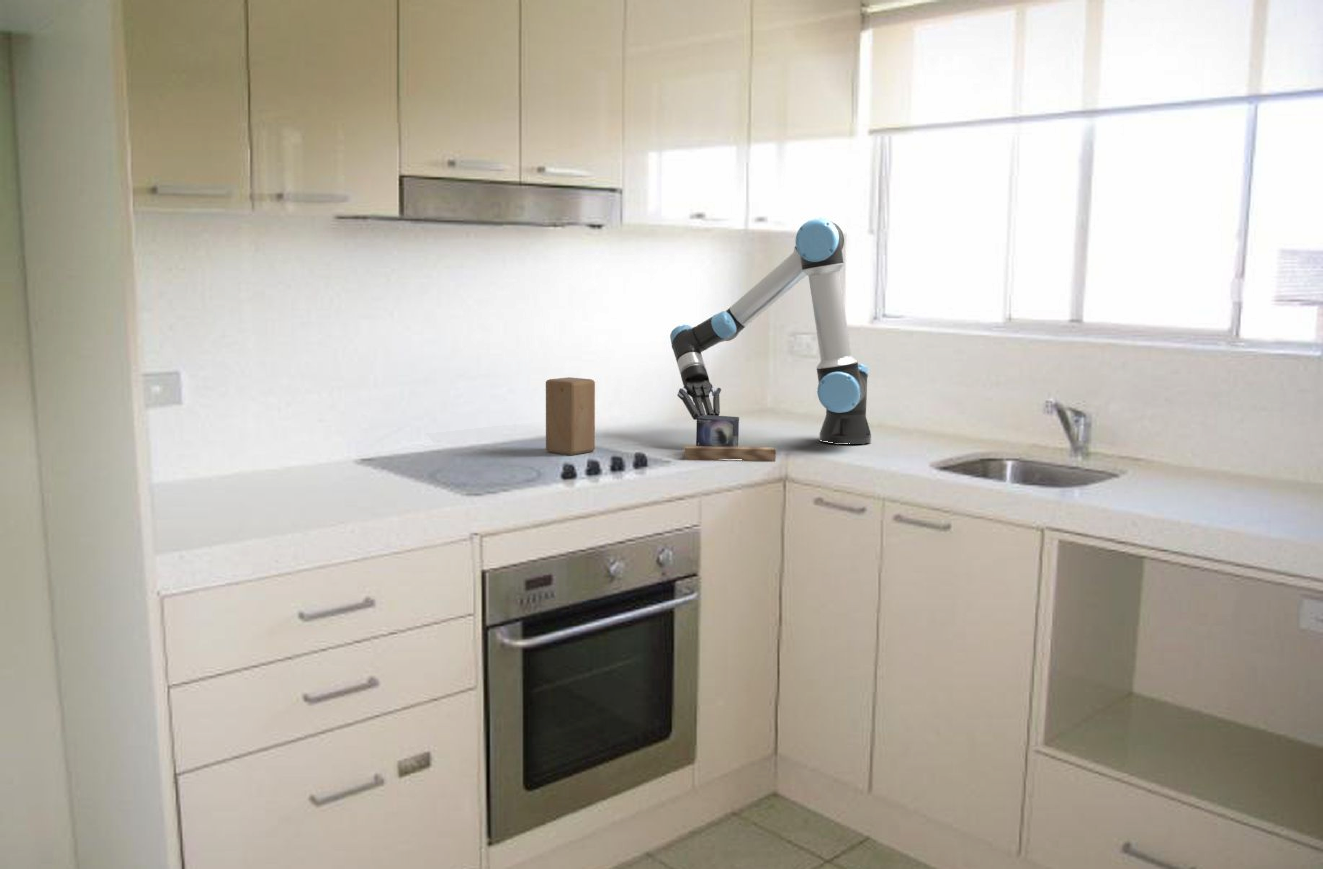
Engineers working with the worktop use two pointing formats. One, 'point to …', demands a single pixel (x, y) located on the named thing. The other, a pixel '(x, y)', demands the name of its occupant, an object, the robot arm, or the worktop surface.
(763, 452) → the long brown wooden bar
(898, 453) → the worktop surface
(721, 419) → the small box
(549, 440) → the wooden block
